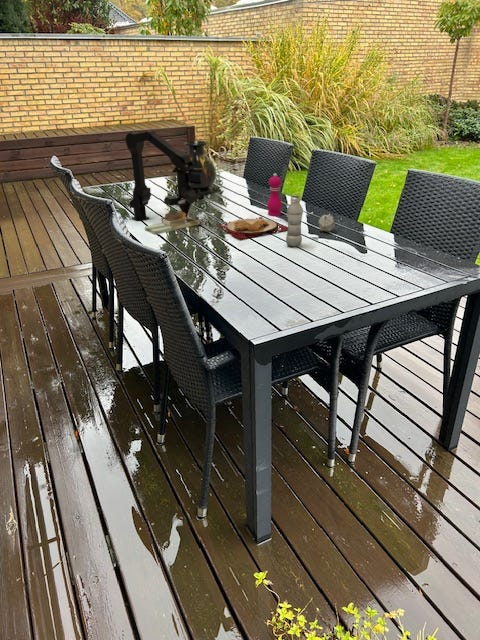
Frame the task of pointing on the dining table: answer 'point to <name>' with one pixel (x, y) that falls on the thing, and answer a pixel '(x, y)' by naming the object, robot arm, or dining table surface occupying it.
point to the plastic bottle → (294, 222)
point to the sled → (181, 216)
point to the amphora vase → (201, 165)
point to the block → (172, 216)
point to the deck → (174, 225)
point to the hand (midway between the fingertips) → (185, 216)
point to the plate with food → (251, 227)
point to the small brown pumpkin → (326, 223)
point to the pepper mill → (274, 196)
